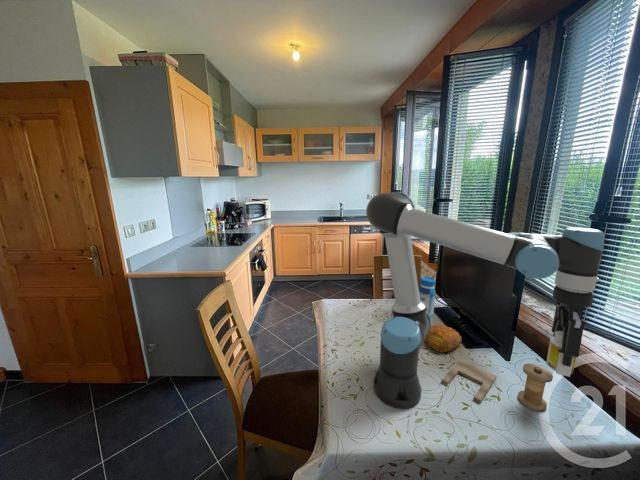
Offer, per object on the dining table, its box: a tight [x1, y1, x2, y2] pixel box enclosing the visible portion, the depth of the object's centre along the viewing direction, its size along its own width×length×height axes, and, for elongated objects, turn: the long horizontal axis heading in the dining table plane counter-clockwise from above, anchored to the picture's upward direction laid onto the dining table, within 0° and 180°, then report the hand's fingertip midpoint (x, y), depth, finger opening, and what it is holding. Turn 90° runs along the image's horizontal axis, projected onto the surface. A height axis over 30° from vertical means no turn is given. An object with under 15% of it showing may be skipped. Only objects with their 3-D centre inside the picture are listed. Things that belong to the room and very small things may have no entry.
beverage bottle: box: [418, 276, 437, 319], centre depth 134 cm, size 8×8×20 cm
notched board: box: [441, 359, 497, 404], centre depth 91 cm, size 16×12×1 cm
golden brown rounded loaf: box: [424, 324, 463, 353], centre depth 113 cm, size 14×16×8 cm
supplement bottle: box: [546, 331, 577, 374], centre depth 72 cm, size 6×6×10 cm
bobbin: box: [517, 362, 554, 412], centre depth 81 cm, size 7×7×12 cm
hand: (559, 367), depth 73 cm, fingers closed on supplement bottle, 6 cm apart
